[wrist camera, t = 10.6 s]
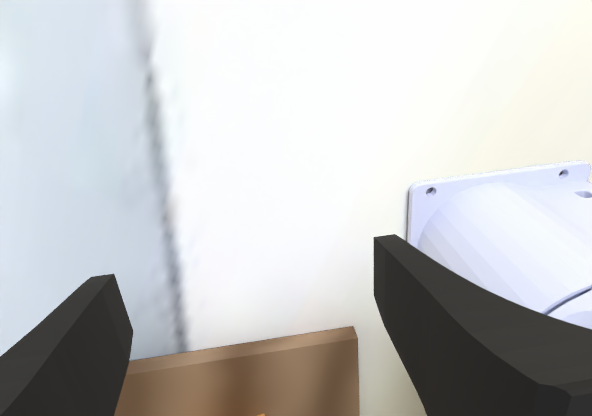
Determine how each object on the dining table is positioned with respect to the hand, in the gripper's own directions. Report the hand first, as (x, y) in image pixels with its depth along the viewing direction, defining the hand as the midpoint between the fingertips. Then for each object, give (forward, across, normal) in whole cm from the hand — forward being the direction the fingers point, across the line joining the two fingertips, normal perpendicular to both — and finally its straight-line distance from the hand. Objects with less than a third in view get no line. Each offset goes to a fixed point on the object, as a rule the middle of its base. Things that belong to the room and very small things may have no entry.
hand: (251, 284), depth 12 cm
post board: (+9, +3, +19) cm, 21 cm away
